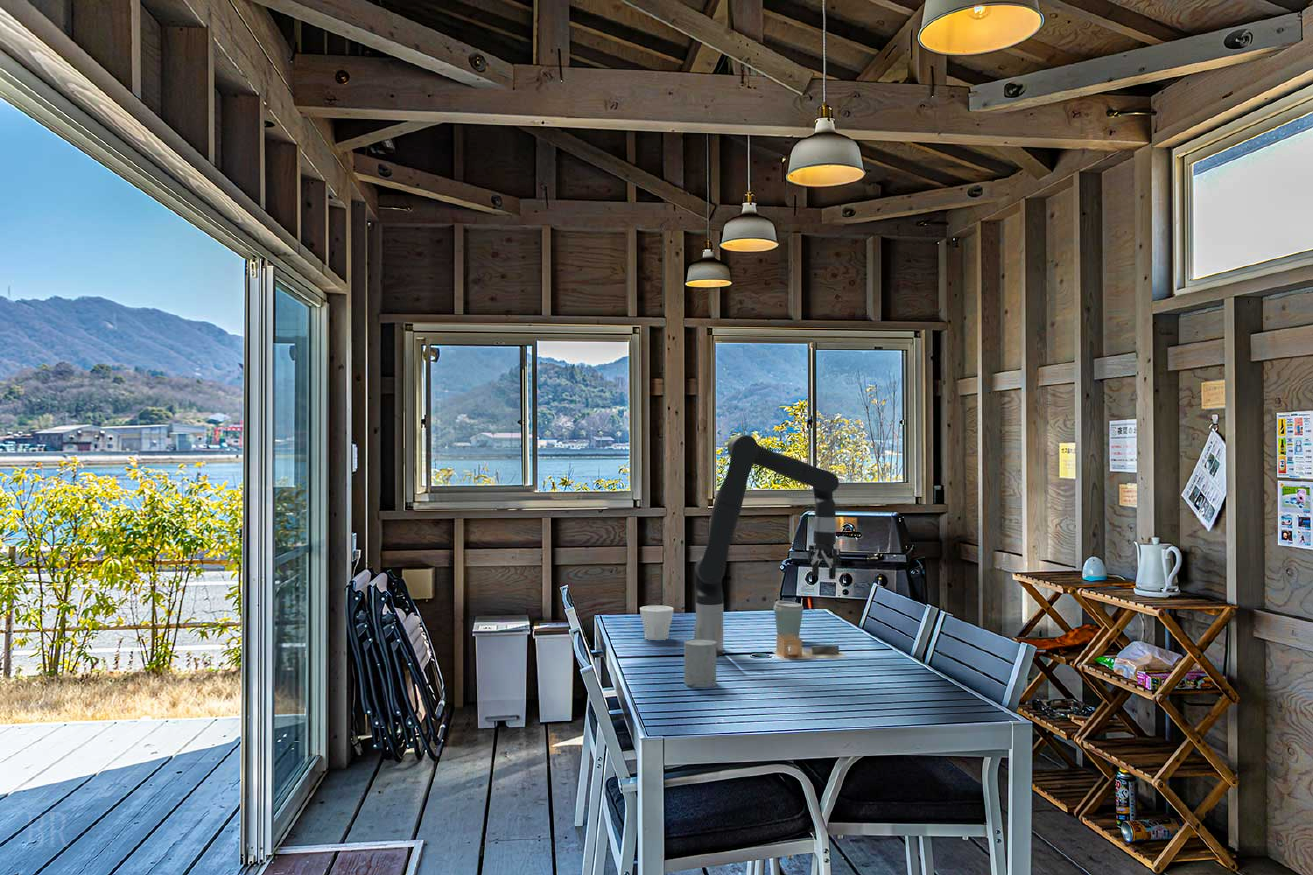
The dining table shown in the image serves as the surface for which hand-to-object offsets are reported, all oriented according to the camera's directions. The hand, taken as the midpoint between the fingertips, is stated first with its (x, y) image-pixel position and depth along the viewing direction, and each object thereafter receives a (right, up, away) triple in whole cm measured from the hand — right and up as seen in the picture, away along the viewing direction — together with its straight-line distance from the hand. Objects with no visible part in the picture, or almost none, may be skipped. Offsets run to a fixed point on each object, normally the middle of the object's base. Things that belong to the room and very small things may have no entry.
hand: (823, 577), depth 323 cm
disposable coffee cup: (-11, -26, +10) cm, 29 cm away
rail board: (-7, -25, -12) cm, 28 cm away
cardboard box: (-14, -24, -13) cm, 30 cm away
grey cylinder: (-44, -25, -45) cm, 68 cm away
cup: (-57, -25, +20) cm, 66 cm away
